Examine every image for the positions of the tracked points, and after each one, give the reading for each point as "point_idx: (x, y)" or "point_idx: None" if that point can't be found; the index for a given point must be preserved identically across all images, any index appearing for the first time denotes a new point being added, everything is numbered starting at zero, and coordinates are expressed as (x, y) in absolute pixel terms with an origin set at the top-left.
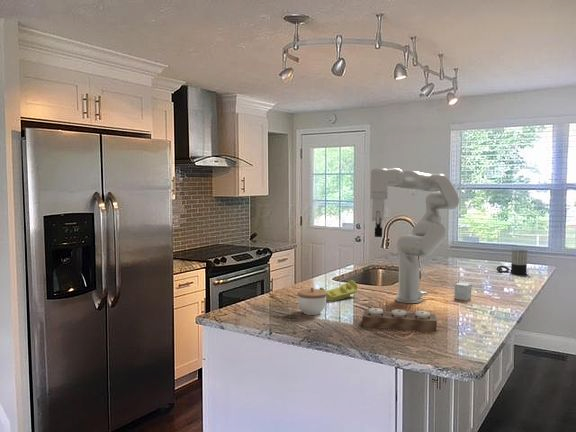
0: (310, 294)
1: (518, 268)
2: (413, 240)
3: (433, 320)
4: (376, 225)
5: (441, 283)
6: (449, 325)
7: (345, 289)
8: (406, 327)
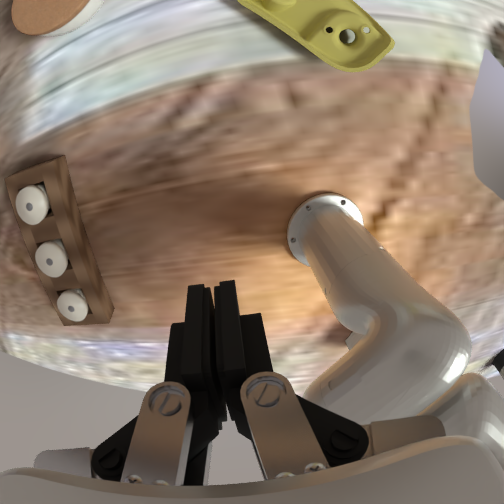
0: (17, 7)
1: (500, 364)
2: (353, 414)
3: (63, 320)
4: (113, 435)
5: (481, 277)
6: (121, 330)
7: (325, 27)
8: None
